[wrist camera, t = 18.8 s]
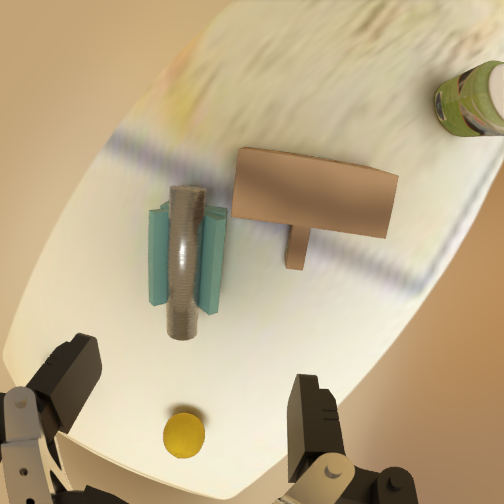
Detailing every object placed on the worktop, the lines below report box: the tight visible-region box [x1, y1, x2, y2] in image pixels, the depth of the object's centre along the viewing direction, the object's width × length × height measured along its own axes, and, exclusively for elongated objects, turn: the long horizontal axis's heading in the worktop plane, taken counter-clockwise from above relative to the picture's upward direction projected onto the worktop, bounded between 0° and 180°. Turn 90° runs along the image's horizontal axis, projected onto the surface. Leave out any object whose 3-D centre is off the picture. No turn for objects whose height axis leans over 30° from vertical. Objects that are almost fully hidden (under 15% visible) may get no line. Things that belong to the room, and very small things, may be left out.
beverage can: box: [434, 61, 504, 137], centre depth 20 cm, size 6×7×12 cm
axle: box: [167, 185, 206, 340], centre depth 28 cm, size 14×3×3 cm, turn 173°
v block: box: [148, 202, 227, 315], centre depth 30 cm, size 9×7×5 cm
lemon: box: [163, 413, 205, 458], centre depth 37 cm, size 6×6×8 cm
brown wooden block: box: [231, 147, 399, 270], centre depth 27 cm, size 10×12×7 cm
